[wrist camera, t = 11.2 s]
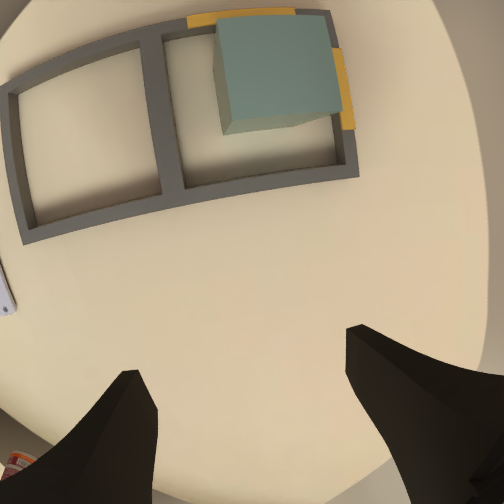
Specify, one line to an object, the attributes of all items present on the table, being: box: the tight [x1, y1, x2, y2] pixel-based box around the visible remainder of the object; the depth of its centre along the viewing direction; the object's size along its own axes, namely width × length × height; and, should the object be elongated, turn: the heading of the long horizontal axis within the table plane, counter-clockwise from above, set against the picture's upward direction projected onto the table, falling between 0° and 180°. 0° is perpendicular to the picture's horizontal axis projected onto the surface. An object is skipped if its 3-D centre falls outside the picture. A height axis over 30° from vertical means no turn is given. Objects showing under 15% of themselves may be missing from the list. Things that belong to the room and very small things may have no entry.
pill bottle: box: [0, 450, 38, 481], centre depth 17 cm, size 6×6×11 cm
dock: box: [0, 7, 360, 245], centre depth 14 cm, size 21×11×1 cm, turn 99°
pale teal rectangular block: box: [213, 15, 343, 136], centre depth 12 cm, size 4×4×7 cm
